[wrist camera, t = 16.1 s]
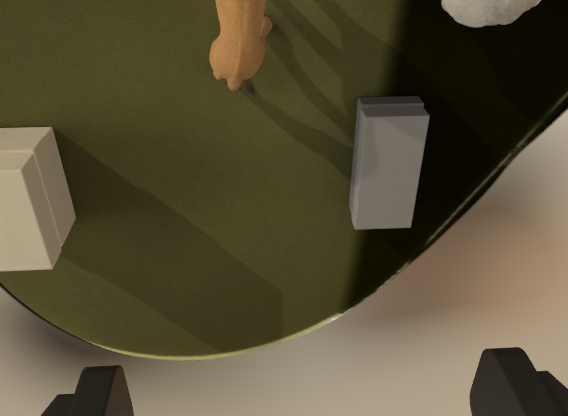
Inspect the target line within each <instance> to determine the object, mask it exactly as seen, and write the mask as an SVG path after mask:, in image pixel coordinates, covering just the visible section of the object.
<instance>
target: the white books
mask: <svg viewBox="0 0 568 416" xmlns="http://www.w3.org/2000/svg"><path fill="white" fill-rule="evenodd" d="M0 155H33V156H34V159H35V163H36V166H37V170H38V173H39V176H40V180H41V183H42V186H43V190H44V193H45V197H46V200H47V203H48V207H49V210H50V214H51V217H52V220H53V224H54V227H55V231H56V234H57V237H58V241H59V244H60V247H62V246H63V244H64V242H65V240H66V237H67V235H68V233H69V231H70V229H71V227H72V225H73V223H74V221H75V219H76V215H75V211H74V207H73V204H72V200H71V196H70V192H69V188H68V185H67V181H66V177H65V173H64V170H63V166H62V162H61V158H60V154H59V151H58V147H57V143H56V139H55V135H54V132H53V128H52V127H28V128H0Z"/></svg>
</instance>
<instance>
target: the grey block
mask: <svg viewBox="0 0 568 416" xmlns="http://www.w3.org/2000/svg"><path fill="white" fill-rule="evenodd" d="M423 106H424V103H423V102H422V100H421V99H420V98H419V96H393V97H358V103H357V115H356V127H355V138H354V150H353V162H352V174H351V186H350V198H349V208H350V211H351V214H352V222H353V225H354V228H355V229H383V228H410V227H411V224H412V218H413V212H414V206H415V200H416V194H417V188H418V182H419V176H420V170H421V164H422V158H423V152H424V146H425V140H426V134H427V128H428V122H429V114H428V113H427V112H426V110H425V109H424V108H423Z"/></svg>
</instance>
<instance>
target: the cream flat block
mask: <svg viewBox="0 0 568 416" xmlns="http://www.w3.org/2000/svg"><path fill="white" fill-rule="evenodd" d="M60 252H61V247H60V244H59V241H58V237H57V234H56V231H55V227H54V224H53V220H52V217H51V214H50V210H49V207H48V203H47V200H46V197H45V193H44V190H43V186H42V183H41V180H40V176H39V173H38V170H37V166H36V163H35V159H34V156H33V155H0V271H19V270H45V269H53V267H54V265H55V263H56V261H57V259H58V257H59V254H60Z"/></svg>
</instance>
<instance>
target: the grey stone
mask: <svg viewBox="0 0 568 416" xmlns="http://www.w3.org/2000/svg"><path fill="white" fill-rule="evenodd" d="M540 1H541V0H442V3H441V4H442V7H443V9H444V10H445V11H447V12H448V13H449V14H450V16H452V17H453V18H454V20H455V21H456V22H458V23H461V24H463V25H466V26H470V27H482V26H485V25H497V24H501V25H506V24H510V23H512V22H513V21H515V20H516V19H517V18H518V17H520V16H521V15H522V13H523V12H525V11H526V10H529V9H530V8H531V7H534V6H536V5H537V4H538V3H539V2H540Z"/></svg>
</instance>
